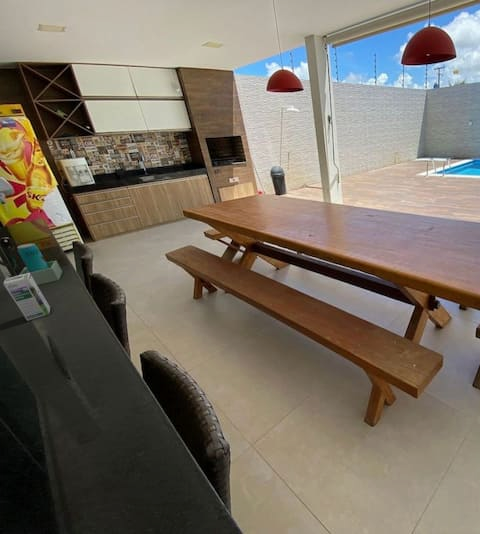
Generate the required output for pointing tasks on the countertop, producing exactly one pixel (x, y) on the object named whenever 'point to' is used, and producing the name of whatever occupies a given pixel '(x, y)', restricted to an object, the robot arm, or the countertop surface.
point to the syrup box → (27, 296)
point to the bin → (45, 273)
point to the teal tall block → (32, 257)
